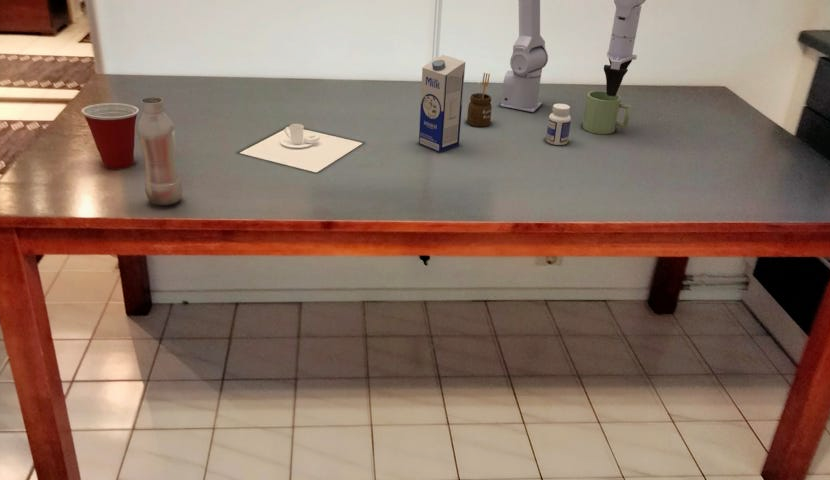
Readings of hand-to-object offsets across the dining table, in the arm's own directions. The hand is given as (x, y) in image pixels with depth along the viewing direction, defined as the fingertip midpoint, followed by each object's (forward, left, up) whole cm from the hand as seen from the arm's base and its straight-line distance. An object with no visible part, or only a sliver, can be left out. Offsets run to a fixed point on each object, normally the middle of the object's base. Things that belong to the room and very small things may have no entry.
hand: (613, 91), depth 188 cm
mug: (-1, 0, -10) cm, 10 cm away
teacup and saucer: (-59, -50, -10) cm, 78 cm away
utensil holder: (-30, -13, -10) cm, 34 cm away
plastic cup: (-87, -77, -10) cm, 116 cm away
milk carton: (-33, -32, -10) cm, 47 cm away
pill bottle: (-9, -15, -10) cm, 20 cm away
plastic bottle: (-67, -86, -10) cm, 110 cm away
